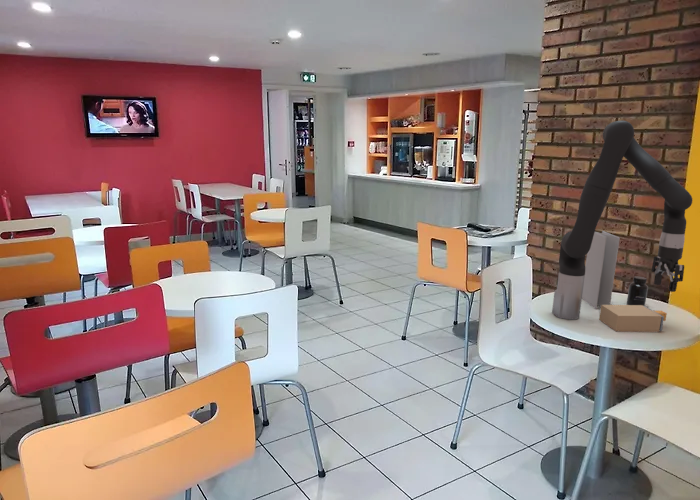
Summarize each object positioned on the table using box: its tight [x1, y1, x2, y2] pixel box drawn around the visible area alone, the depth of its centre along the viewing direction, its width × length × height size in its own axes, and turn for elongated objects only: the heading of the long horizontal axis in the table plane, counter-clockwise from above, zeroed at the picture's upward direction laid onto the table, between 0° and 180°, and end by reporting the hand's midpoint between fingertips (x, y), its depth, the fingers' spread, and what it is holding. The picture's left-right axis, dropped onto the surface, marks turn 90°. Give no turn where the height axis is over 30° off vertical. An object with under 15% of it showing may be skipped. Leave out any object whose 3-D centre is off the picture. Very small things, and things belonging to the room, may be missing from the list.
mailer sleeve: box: [598, 304, 662, 333], centre depth 191 cm, size 16×12×6 cm
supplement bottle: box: [626, 275, 649, 306], centre depth 215 cm, size 7×7×12 cm
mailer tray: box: [644, 305, 668, 332], centre depth 191 cm, size 20×12×5 cm, turn 92°
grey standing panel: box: [582, 230, 621, 310], centre depth 213 cm, size 14×6×30 cm, turn 179°
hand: (664, 288), depth 189 cm, fingers open, 8 cm apart
